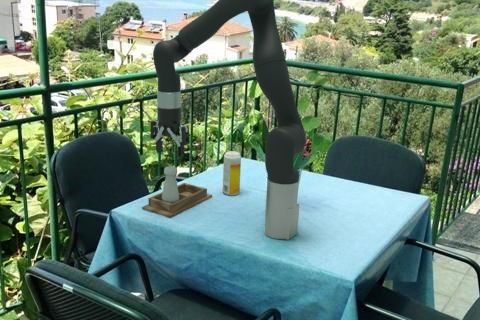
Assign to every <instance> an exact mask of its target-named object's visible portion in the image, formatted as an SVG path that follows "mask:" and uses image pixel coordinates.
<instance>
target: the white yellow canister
mask: <svg viewBox="0 0 480 320" xmlns="http://www.w3.org/2000/svg"><path fill="white" fill-rule="evenodd" d="M241 163H242V156H241V153H240V152H238V151H234V150H233V151H231V150H230V151H226V152H224V155H223V171H222V172H223V173H222V176H223V177H222V178H223V179H222V192H223V193H224V195H226V196H231V197H232V196H236V195H238V194H239V193H240V187H241V167H242V166H241Z"/></svg>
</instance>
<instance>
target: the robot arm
mask: <svg viewBox="0 0 480 320" xmlns="http://www.w3.org/2000/svg"><path fill="white" fill-rule="evenodd" d="M246 12H247V14H248V17H249V19H250V23H251V27H252V28H251V29H252V33H253V42H252V63H253V64H252V65H253V69H254V73H255V77H256V82H257V85H258V86H259V89H260V90H261V91H262V93H263V95H264V96H265V98H266V99H267V101H268V102H269V103H270V105H271V106H272V109H273V111H274V114H275V119H276V122H277V123H276V124H277V127H275V128H272V129H271V130H269V132H268V134H267V136H266V139H265V148H264V149H265V150H264V151H265V153H264V155H265V156H264V157H265V158H264V159H265V160H264V161H265V165H264V166H265V171H266V173H267V177H266V178H267V179H266V193H265V195H266V197H265V213H264V233H265V235H266V236H267V237H269V238H273V239H278V240H287V241H289V240H290V239H292V238H293V237H294V236H296V235H297V234H298V232H299V231H298V229H299V217H300V215H299V214H300V204H299V203H298V197H299V196H298V194H299V182H300V172H299V169H297V168H296V167H294V163H295V162H294V160H295V159H294V158H295V157H294V156H297V155H298V154H300V153H301V152H303V151H304V150H305V147H306V144H307V136H306V131H305V128H304V126H303V122H302V119H301V116H300V113H299V110H298V107H297V104H296V100H295V95H294V90H293V86H292V84H291V79H290V78H291V77H290V74H289V69H288V64H287V59H286V57H285V53H284V49H283V47H284V46H283V44H282V39H281V37H280V33H279V29H278V24H277V19H276V11H275V2H274V0H218V1H216V2H215V3H214V4H213V5H211V7H209V8H208V9H207V10H206V11H204V12H203V13H202V14H200V15H199V16H198V17H196V18H195V19H194V20H191V21H190V22H189V23H187V24H186V25H185V26H183V27H182V28H181V29H179V31H178V32H177V33H178V34H177V35H176V36H174V37H173V38H170V39H168V40H167V39H166V40H160V41H159V42H157V43H156V44H155V45H154V47H153V51H152V59H153V64H154V69H155V73H156V76H157V94H156V95H157V99H156V104H157V107H156V108H157V110H156V116H157V117H156V118H157V119H154V120H152V121H150V130H149V131H150V132H149V133H150V135H149V137H150V139H151V140H154V142H155V151H156V153H157V154H161V153H163V152H164V148H163V147H164V146H163V144H164V143H163V139H164V137H166V138H167V137H168V138H169V139H170V138H172V141H175V143H176V145H177V146H176V148H177V149H176V152H177V154H176V157H177V158H179V159H181V158H182V157H184V156H185V146H186V145H190V142H191V141H190V126H189V125H182V124H181V121H182V92H181V89H182V88H181V74H180V73H179V72H177V71H176V66H175V63H178V62H180V61H182V60H183V59H185V58H186V57H187V56H189V54H190V53H192V51H193V50H195V49H196V48H199V47H200V46H201V45H203V44H205V43H206V42H207V41H209V40H210V39H211V38H212V37H214V36H215V35H216V33H218V32H219V31H220V30H221V28H222V27H223V26H224V25H225V24H226V23H228V22H229V21H230V20H231V19H233V18H235V17H237V16H239V15H241V14H243V13H246Z"/></svg>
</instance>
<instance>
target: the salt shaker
mask: <svg viewBox="0 0 480 320" xmlns="http://www.w3.org/2000/svg"><path fill="white" fill-rule="evenodd" d="M163 173H164V174H163V175H165V179H164V184H163V190H162V192H163V193H162V192H161V193H162V201H164V202H168V203H171V204H172V203H174V202H176V201H178V200H179V193H178V187H177V186H178V181H177V177H176V176H177V174H178V169H177V167H176V166H173V165H171V166H166V167H164V169H163Z"/></svg>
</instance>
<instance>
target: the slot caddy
mask: <svg viewBox="0 0 480 320" xmlns="http://www.w3.org/2000/svg"><path fill="white" fill-rule="evenodd" d="M177 187H178V193H179V200H178V201H176V202H174V203H172V204H171V203H168V202H164V201H162V193H163V191H162V192H160V193H157V194H155V195H152V196H151V197H148V199H147V200H148V201H147V202H148V203H147V204H146V205H144V206H141V209H142V210H144V211H147V212H148V213H149V212H150V213H152V214H156V215H159V216H162V217H165V218H169V219H172V218H174V217H176V216H178V215H180V214H182V213H184V212H186V211H188V210H190V209H192V208H194V207H195V206H198V205H200V204H202V203H204V202H206V201H208V200H209V199H211V198H213V194H210V193H208V188H206V187H201V186H197V185H196V184H195V185H194V184H191V183H186V182H182V183H181V184H177Z"/></svg>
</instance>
